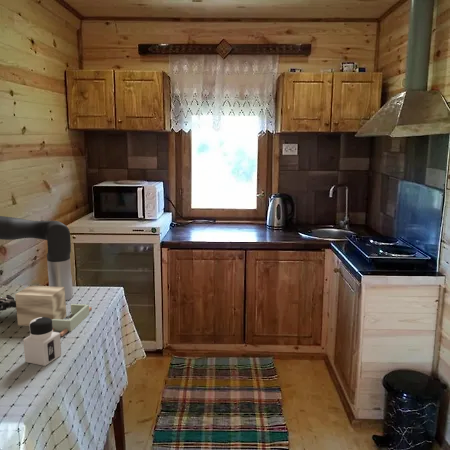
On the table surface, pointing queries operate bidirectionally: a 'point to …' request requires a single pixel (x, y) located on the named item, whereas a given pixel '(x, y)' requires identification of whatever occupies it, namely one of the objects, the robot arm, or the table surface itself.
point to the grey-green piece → (71, 319)
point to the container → (42, 342)
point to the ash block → (40, 303)
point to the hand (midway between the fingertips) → (21, 304)
